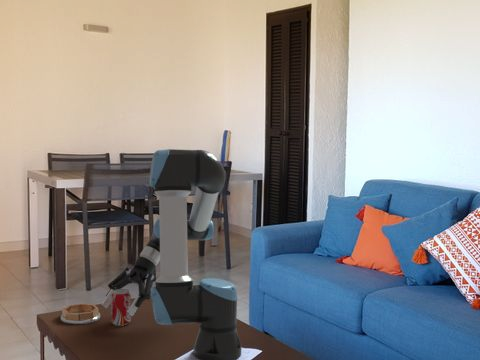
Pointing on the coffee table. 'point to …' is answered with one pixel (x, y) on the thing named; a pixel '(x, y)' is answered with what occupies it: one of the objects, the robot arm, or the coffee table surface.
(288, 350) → the coffee table surface
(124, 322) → the soda can
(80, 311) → the round wooden tray
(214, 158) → the robot arm
